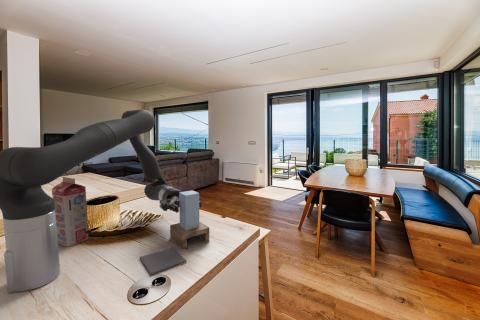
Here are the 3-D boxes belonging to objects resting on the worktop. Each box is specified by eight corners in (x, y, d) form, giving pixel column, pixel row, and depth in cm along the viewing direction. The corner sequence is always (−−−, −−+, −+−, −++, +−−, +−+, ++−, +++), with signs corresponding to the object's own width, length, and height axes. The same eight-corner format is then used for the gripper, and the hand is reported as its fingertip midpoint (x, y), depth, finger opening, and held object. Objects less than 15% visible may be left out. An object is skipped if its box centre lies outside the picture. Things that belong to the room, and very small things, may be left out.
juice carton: (77, 234, 80) (73, 175, 78) (88, 238, 77) (84, 177, 75) (55, 242, 74) (50, 178, 72) (67, 247, 71) (62, 180, 69)
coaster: (151, 275, 58) (150, 273, 57) (140, 258, 65) (140, 256, 65) (186, 262, 64) (186, 260, 64) (172, 248, 72) (172, 246, 71)
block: (186, 230, 73) (185, 195, 72) (179, 225, 77) (179, 192, 76) (199, 226, 77) (199, 193, 75) (192, 222, 80) (192, 190, 79)
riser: (182, 250, 71) (182, 235, 70) (170, 238, 78) (170, 225, 78) (209, 241, 77) (209, 227, 76) (195, 231, 85) (195, 218, 84)
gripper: (152, 190, 84) (169, 200, 71) (187, 185, 93) (207, 193, 80) (153, 209, 84) (169, 222, 72) (187, 202, 93) (207, 213, 81)
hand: (189, 207), depth 76 cm, fingers open, 8 cm apart
